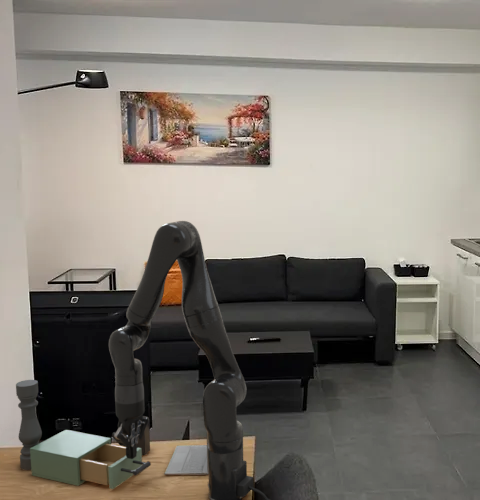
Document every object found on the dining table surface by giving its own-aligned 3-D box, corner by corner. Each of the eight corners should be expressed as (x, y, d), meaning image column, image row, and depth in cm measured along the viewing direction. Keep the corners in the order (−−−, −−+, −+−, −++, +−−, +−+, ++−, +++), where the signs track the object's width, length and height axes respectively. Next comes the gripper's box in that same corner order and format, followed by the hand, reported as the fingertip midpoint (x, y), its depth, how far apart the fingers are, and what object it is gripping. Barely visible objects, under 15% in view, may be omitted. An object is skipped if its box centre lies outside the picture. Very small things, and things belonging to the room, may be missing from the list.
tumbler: (154, 450, 201) (152, 417, 199) (141, 458, 195) (139, 425, 193) (137, 446, 203) (136, 414, 201) (124, 455, 197) (122, 422, 195)
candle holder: (34, 471, 187) (29, 387, 183) (15, 468, 188) (9, 386, 184) (48, 461, 193) (43, 380, 189) (30, 459, 194) (24, 378, 190)
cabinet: (112, 464, 191) (110, 438, 190) (78, 486, 179) (76, 458, 177) (67, 454, 197) (66, 429, 196) (31, 475, 184) (29, 448, 183)
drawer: (158, 472, 185) (157, 451, 184) (129, 493, 173) (128, 470, 172) (98, 459, 192) (97, 439, 191) (67, 479, 180) (66, 457, 180)
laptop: (176, 447, 202) (175, 407, 200) (217, 447, 203) (216, 407, 201) (164, 476, 184) (162, 432, 183) (208, 475, 185) (208, 431, 183)
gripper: (124, 408, 170) (127, 470, 172) (156, 391, 182) (157, 449, 184) (101, 404, 172) (104, 465, 175) (134, 387, 184) (135, 445, 187)
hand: (131, 457), depth 180 cm, fingers closed
